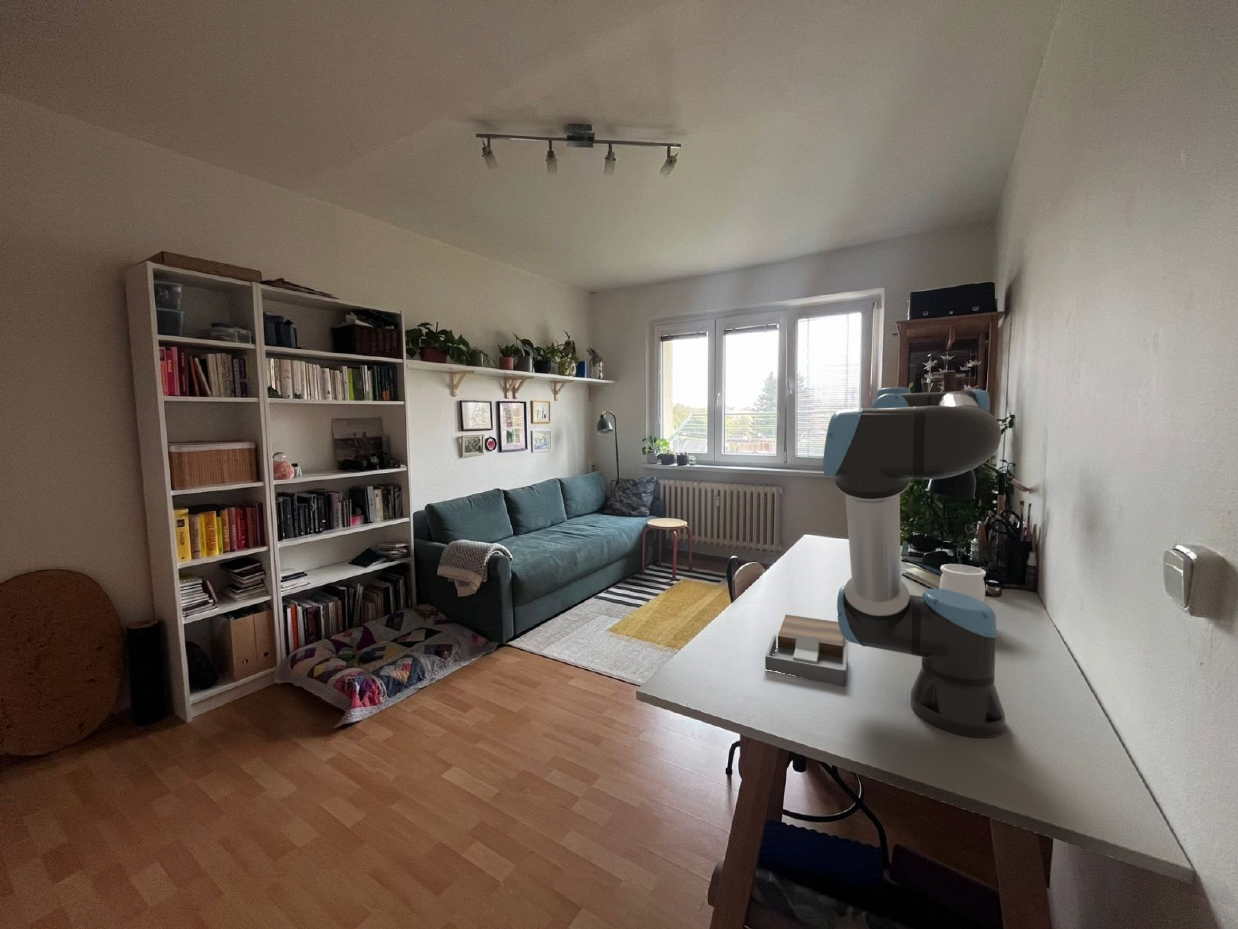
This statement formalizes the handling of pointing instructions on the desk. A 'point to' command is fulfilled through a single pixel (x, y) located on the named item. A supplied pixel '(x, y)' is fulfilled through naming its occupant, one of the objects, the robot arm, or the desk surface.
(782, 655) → the tray
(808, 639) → the tile
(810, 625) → the board
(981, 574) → the jar
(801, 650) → the light grey block
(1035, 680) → the desk surface
